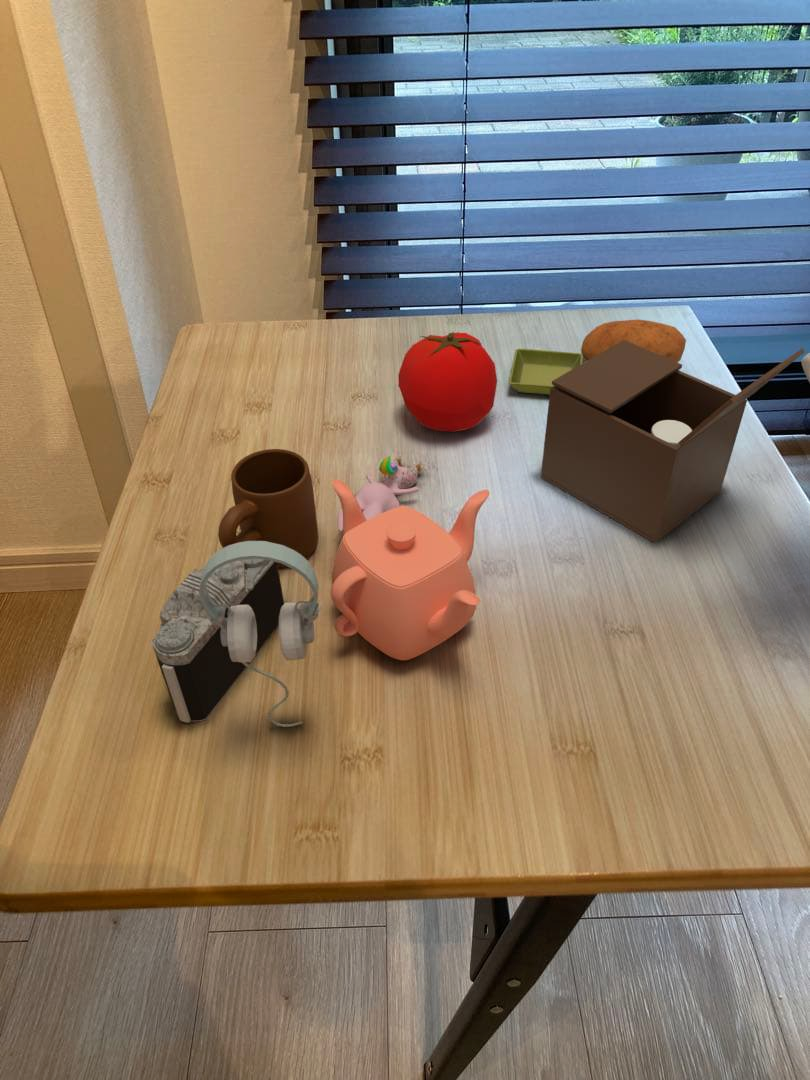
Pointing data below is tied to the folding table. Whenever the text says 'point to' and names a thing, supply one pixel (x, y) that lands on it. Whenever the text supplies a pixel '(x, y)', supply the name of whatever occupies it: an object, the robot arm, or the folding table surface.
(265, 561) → the camera
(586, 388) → the carton
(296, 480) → the mug
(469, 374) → the tomato
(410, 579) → the teapot
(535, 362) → the olive green tray
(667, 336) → the potato
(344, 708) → the folding table surface
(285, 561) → the headphones
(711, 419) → the flap
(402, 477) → the pink animal figure
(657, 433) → the pill bottle
